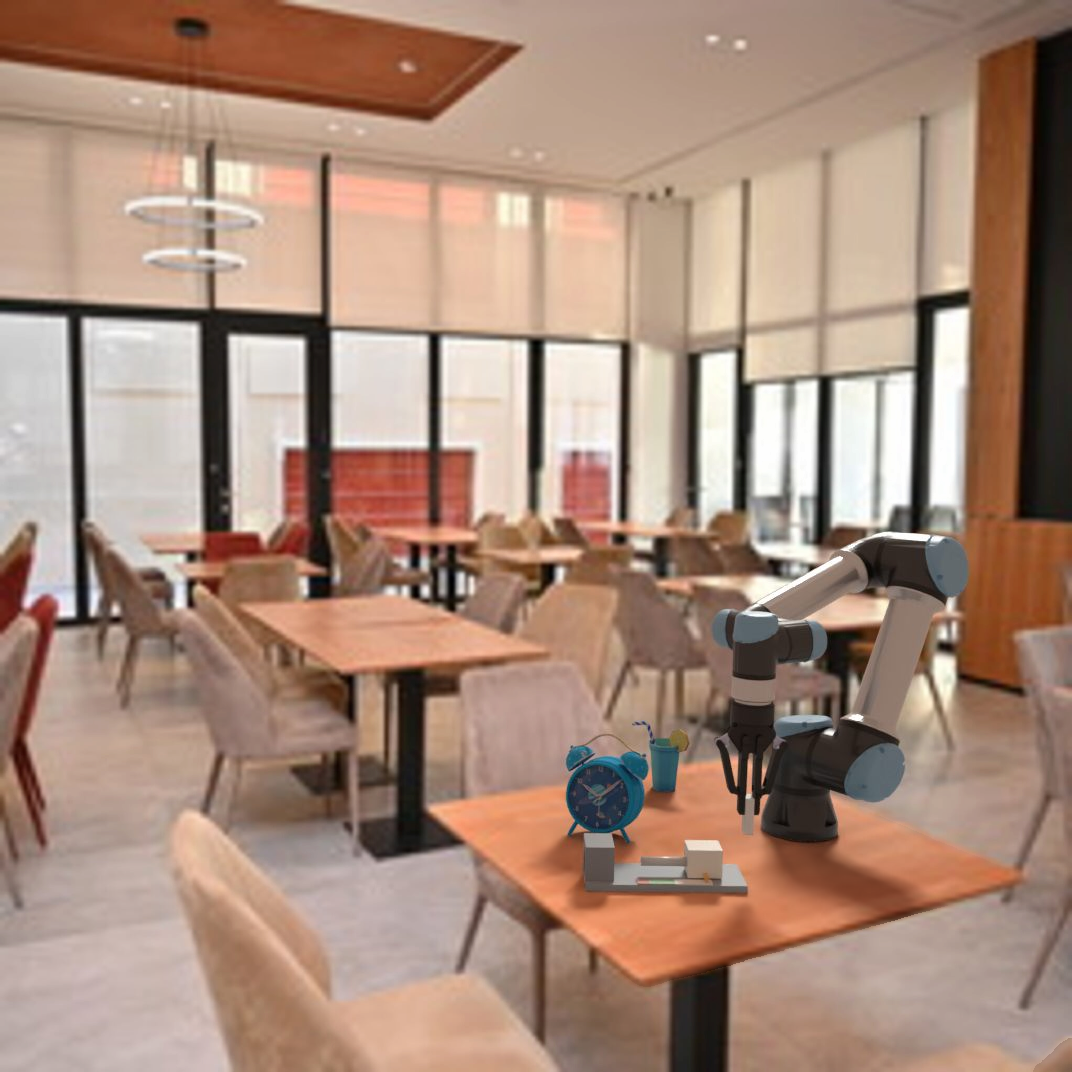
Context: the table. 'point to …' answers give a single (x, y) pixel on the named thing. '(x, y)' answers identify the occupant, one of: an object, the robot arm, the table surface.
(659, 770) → the cup
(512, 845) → the table surface
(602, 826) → the alarm clock
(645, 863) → the plunger
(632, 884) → the gauge board
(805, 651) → the robot arm
